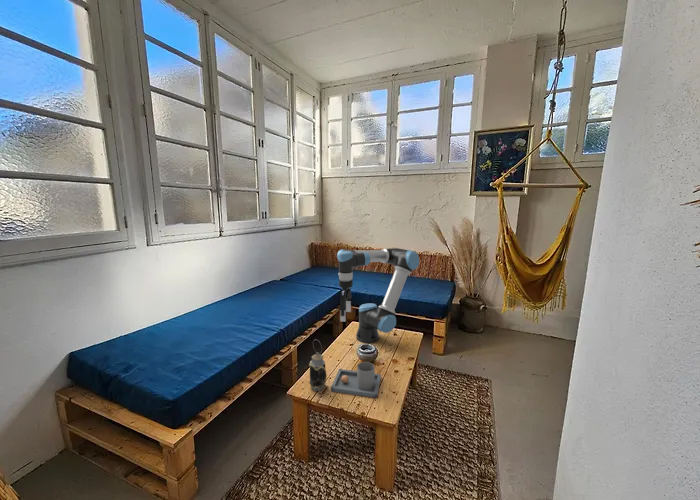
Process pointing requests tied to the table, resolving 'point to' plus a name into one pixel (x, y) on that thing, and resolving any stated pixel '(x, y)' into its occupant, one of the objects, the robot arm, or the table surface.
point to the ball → (344, 378)
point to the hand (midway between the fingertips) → (345, 316)
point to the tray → (354, 384)
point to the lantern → (317, 371)
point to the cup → (365, 376)
